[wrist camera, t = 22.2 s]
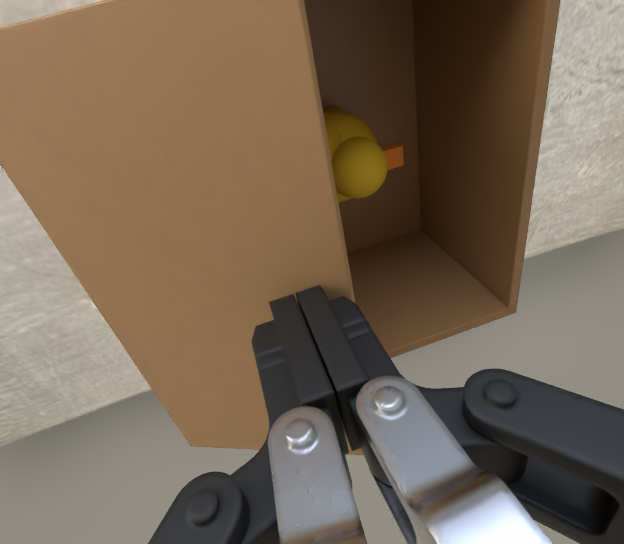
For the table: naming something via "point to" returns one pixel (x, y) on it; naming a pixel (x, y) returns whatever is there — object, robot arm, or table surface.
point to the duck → (357, 155)
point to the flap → (179, 184)
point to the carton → (439, 153)
